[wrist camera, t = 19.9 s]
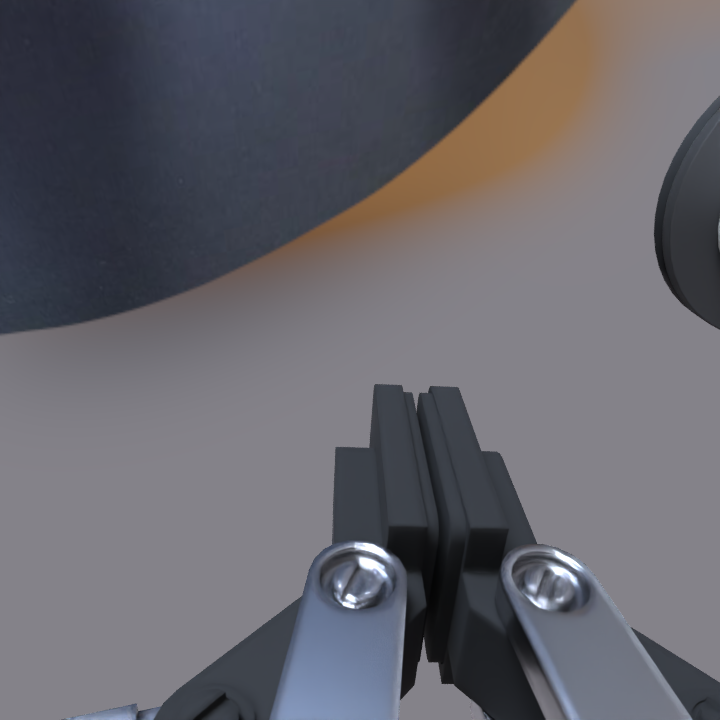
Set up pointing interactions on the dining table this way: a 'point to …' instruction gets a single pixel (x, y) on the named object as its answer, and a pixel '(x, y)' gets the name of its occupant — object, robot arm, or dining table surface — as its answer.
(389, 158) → the dining table surface
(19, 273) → the dining table surface
